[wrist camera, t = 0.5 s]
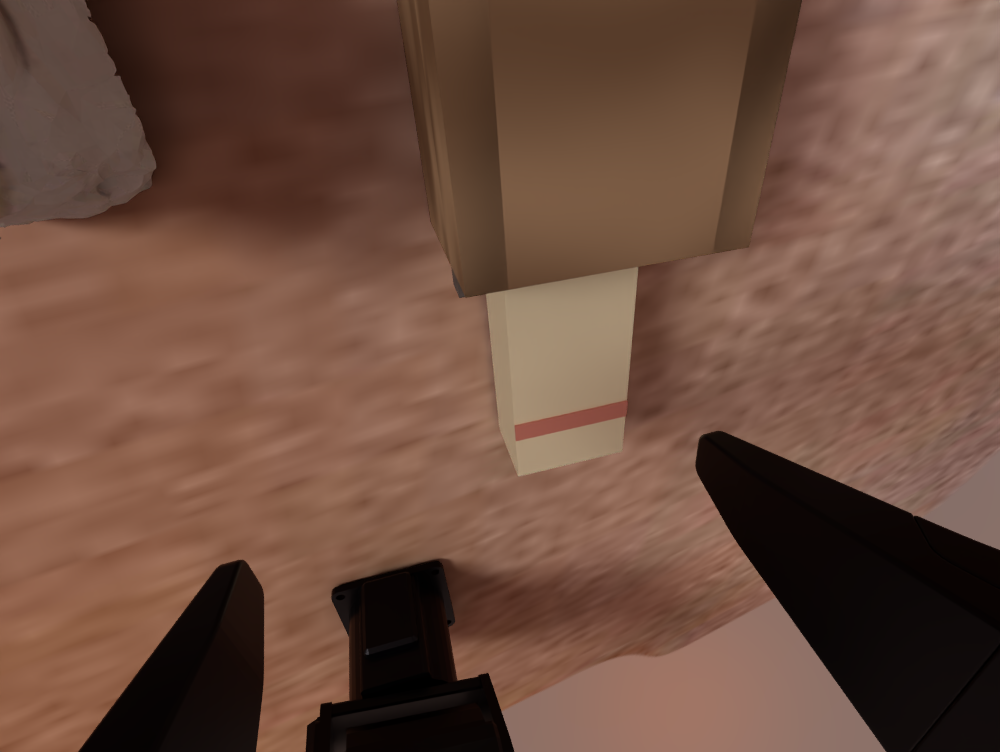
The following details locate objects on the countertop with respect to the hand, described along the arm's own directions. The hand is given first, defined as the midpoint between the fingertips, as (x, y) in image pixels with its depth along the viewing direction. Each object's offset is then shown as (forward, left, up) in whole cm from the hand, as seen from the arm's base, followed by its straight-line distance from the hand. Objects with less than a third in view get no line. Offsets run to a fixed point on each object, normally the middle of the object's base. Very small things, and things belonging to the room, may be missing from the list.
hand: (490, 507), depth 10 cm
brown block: (+7, -5, -13) cm, 15 cm away
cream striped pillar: (-2, -5, -12) cm, 14 cm away
